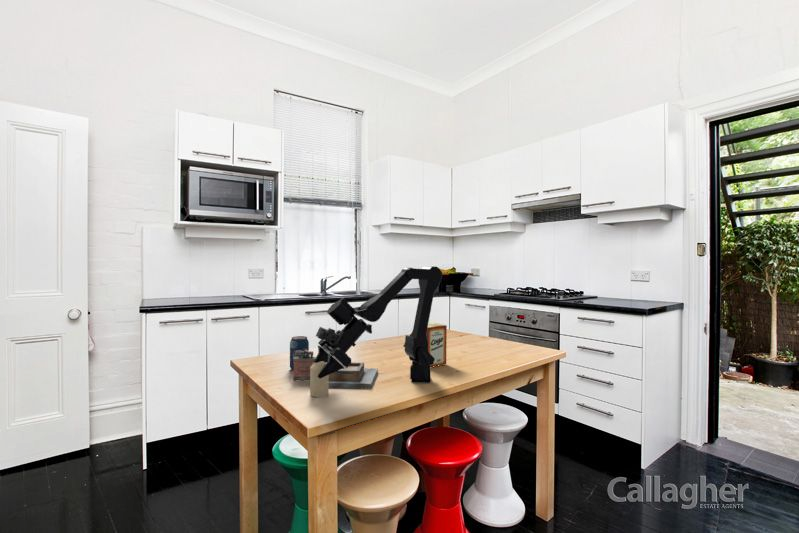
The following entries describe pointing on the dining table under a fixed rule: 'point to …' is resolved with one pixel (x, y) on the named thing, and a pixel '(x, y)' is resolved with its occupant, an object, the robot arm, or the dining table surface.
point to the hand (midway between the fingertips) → (314, 373)
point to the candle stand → (353, 376)
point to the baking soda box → (437, 343)
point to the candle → (318, 381)
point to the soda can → (297, 347)
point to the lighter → (303, 365)
